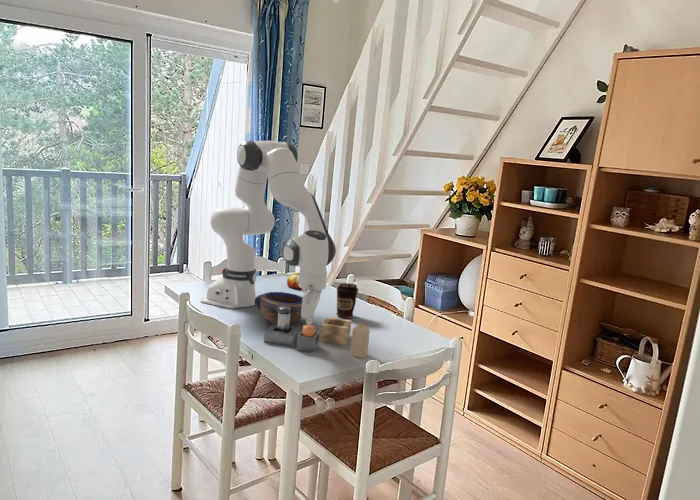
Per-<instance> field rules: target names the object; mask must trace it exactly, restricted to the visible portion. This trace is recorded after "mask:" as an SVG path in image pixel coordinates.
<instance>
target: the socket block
mask: <svg viewBox="0 0 700 500" xmlns="http://www.w3.org/2000/svg"><path fill="white" fill-rule="evenodd" d="M277 325H278V323H273V324H272V323H271V325H270V326H269V327H268V328H267V329H266V330H265V331H263V333H264V334H263V335H264V336H263V343H268V344H274V343H275V344H276V345H281V344H282V345H283V346H288V345H290V347H294V346H295V344H297V336H298V334H299V333H300V332H301V330H302V326H299V325H293V324H291V325H289V333H286V332H279V331H277Z"/></svg>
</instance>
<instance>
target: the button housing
mask: <svg viewBox="0 0 700 500" xmlns="http://www.w3.org/2000/svg"><path fill="white" fill-rule="evenodd" d="M302 334H303V329H301V332H300V333H299V334H298V336H297V341H296V351H298V350H300V351H299V352H305V351H307V352H306V353H312V352H313V353H314V352H315V353H316V351H317V350H318V348H319V345H320V334H321V331H315V336H314V337H309V336H302ZM313 353H312V354H313Z"/></svg>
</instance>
